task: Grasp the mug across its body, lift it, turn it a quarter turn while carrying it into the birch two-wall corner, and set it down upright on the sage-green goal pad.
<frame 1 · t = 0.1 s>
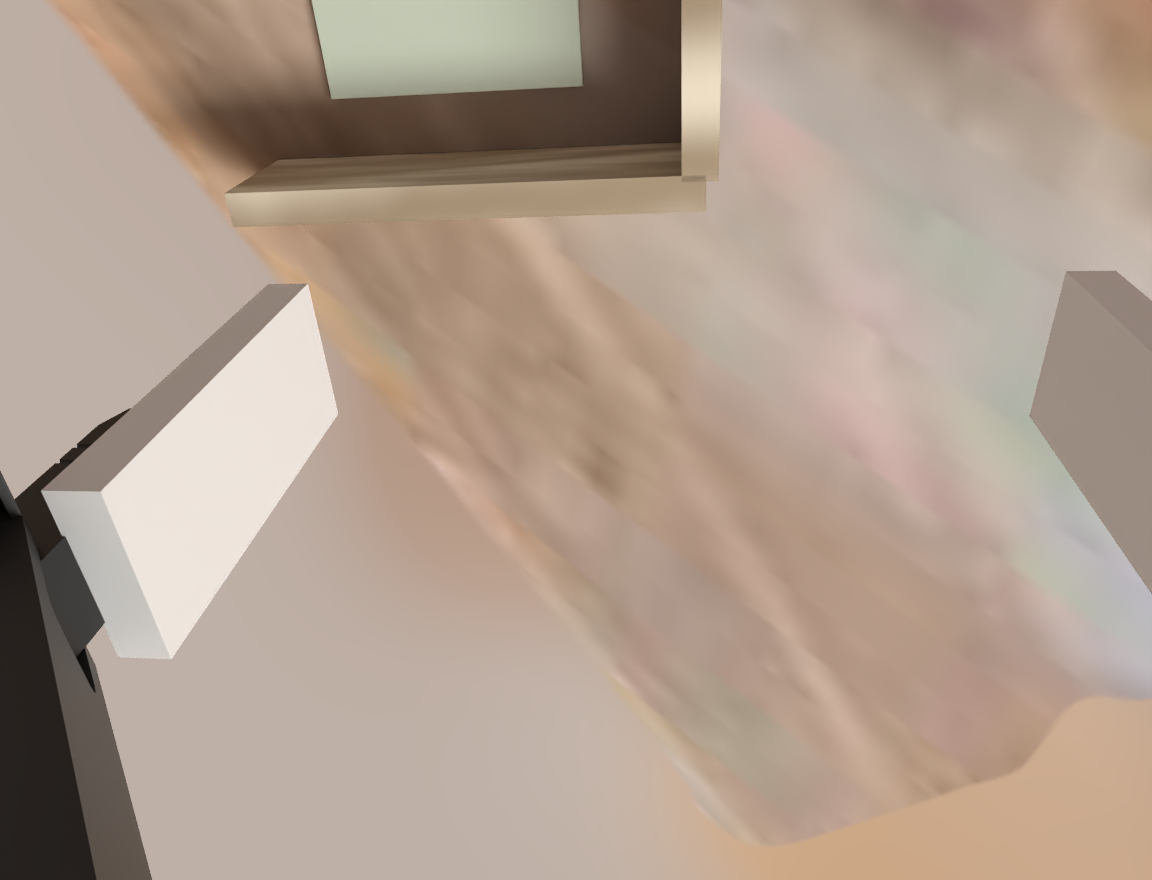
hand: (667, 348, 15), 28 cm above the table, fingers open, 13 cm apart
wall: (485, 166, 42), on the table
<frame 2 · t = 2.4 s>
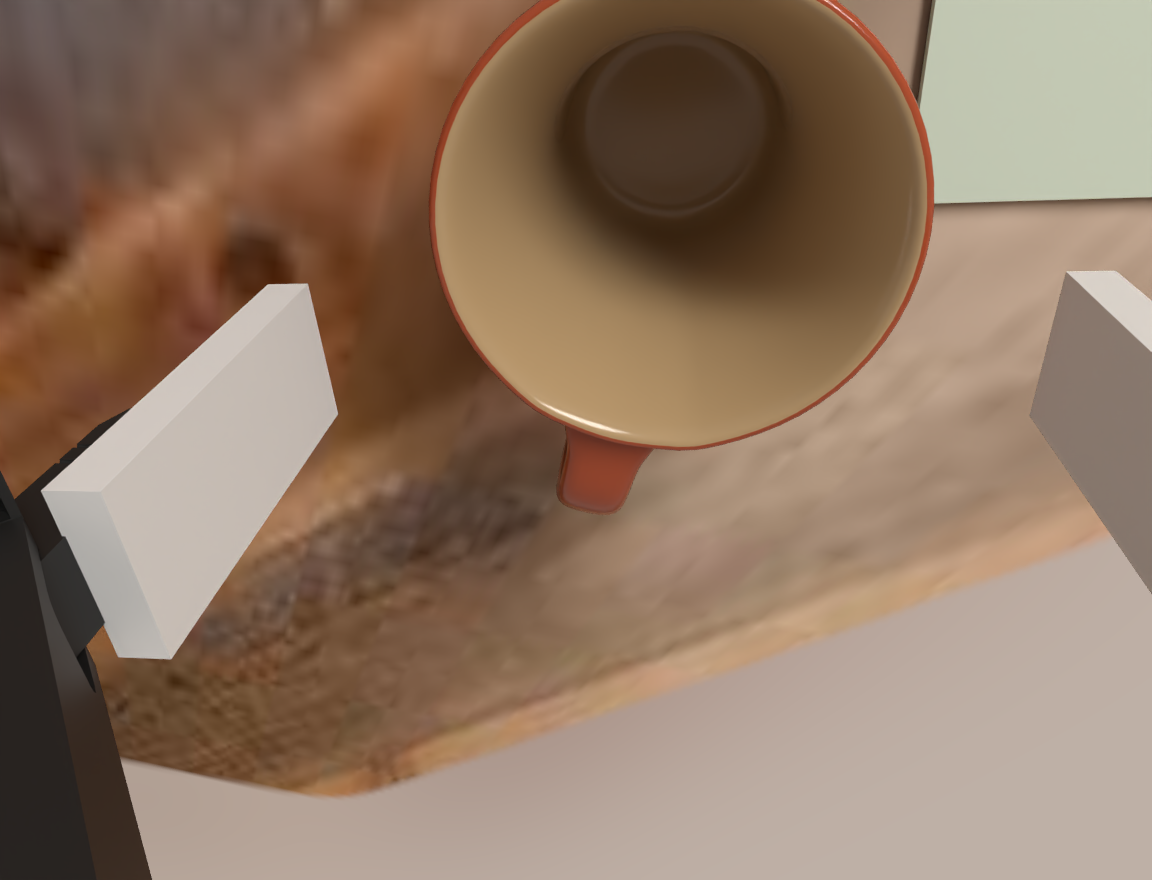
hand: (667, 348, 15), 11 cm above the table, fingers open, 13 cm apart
mug: (654, 171, 25), on the table
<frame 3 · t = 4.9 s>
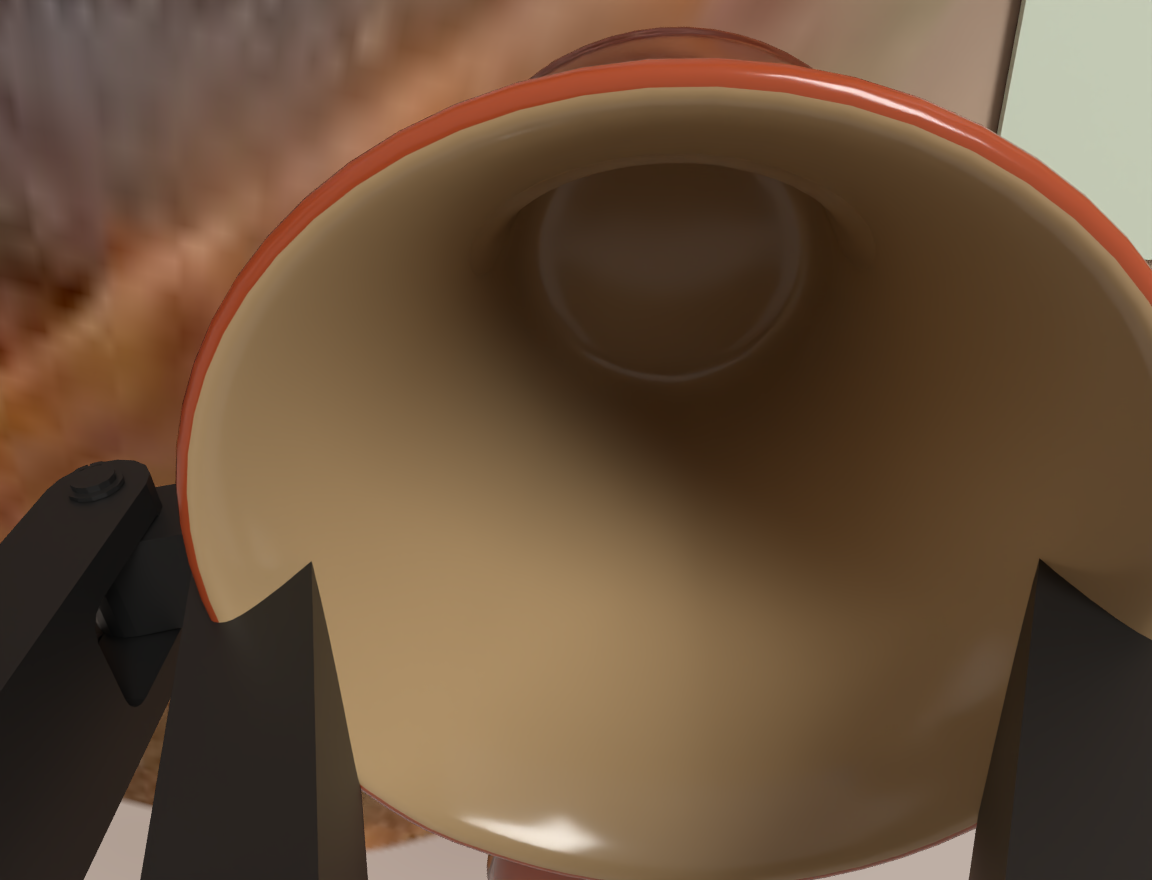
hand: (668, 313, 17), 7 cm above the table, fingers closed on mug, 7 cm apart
mug: (645, 305, 17), point 7 cm above the table, touching gripper
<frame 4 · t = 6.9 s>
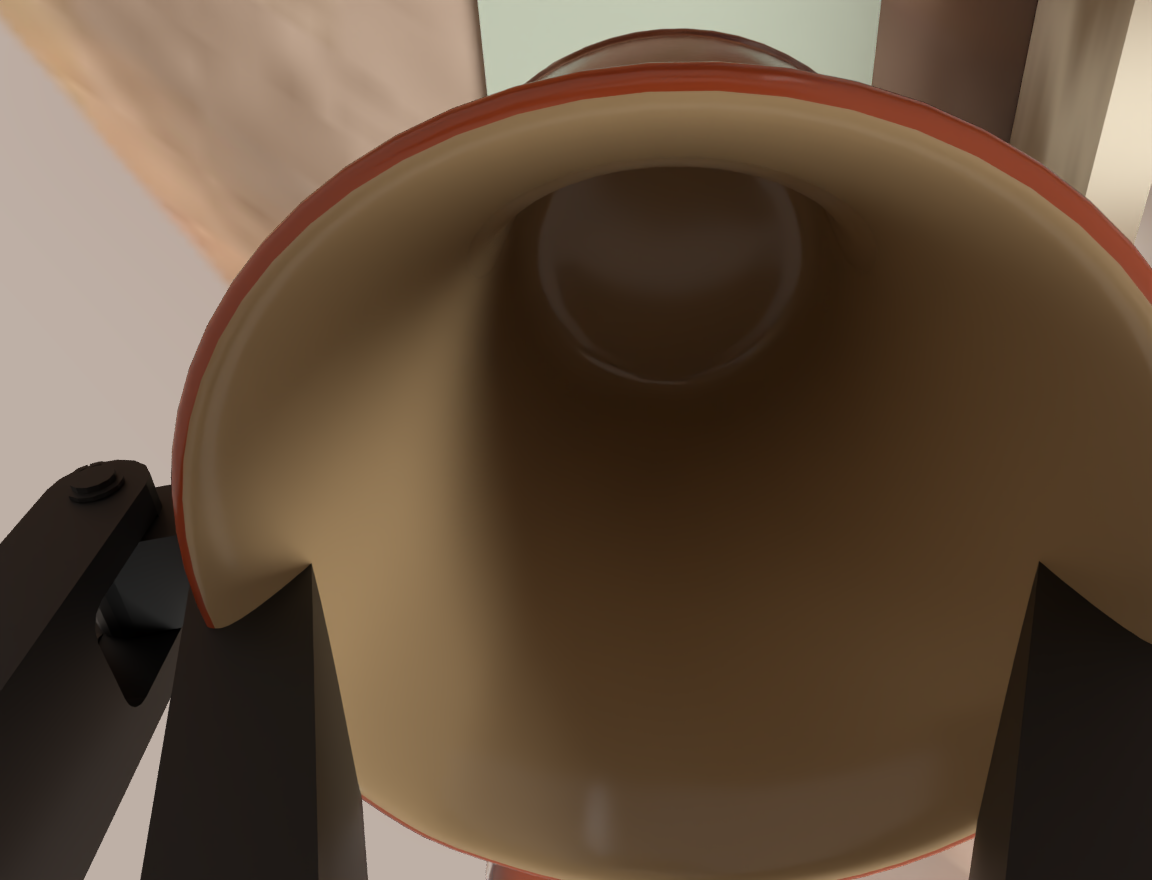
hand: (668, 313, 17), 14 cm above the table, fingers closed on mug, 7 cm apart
mug: (645, 307, 17), point 13 cm above the table, touching gripper
goal pad: (674, 145, 28), on the table
side wall: (1022, 197, 28), on the table
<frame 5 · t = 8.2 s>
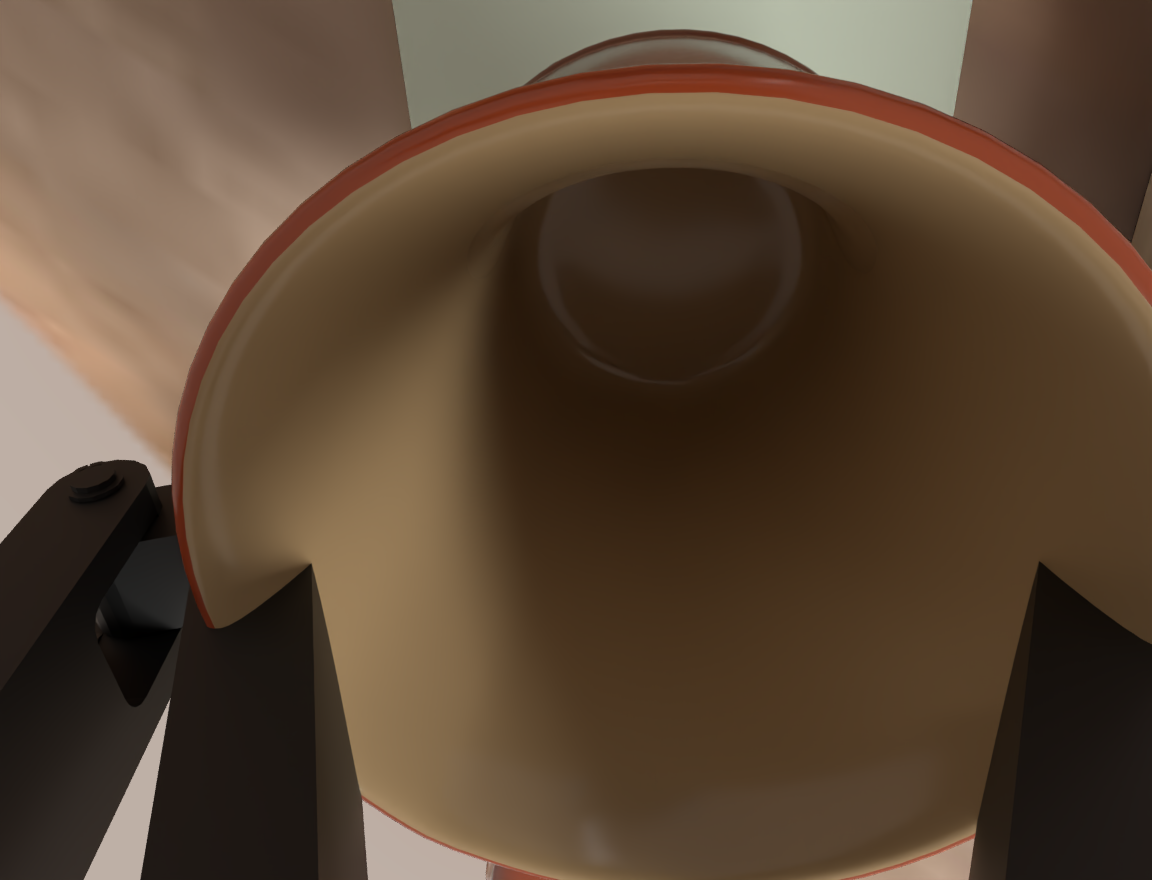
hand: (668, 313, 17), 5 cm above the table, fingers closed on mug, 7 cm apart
mug: (645, 307, 17), point 4 cm above the table, touching gripper
goal pad: (672, 227, 21), on the table
side wall: (1148, 299, 20), on the table
when the fingers open (2 cm above the table, at t = 9.3 s): mug drops 1 cm, resting on goal pad.
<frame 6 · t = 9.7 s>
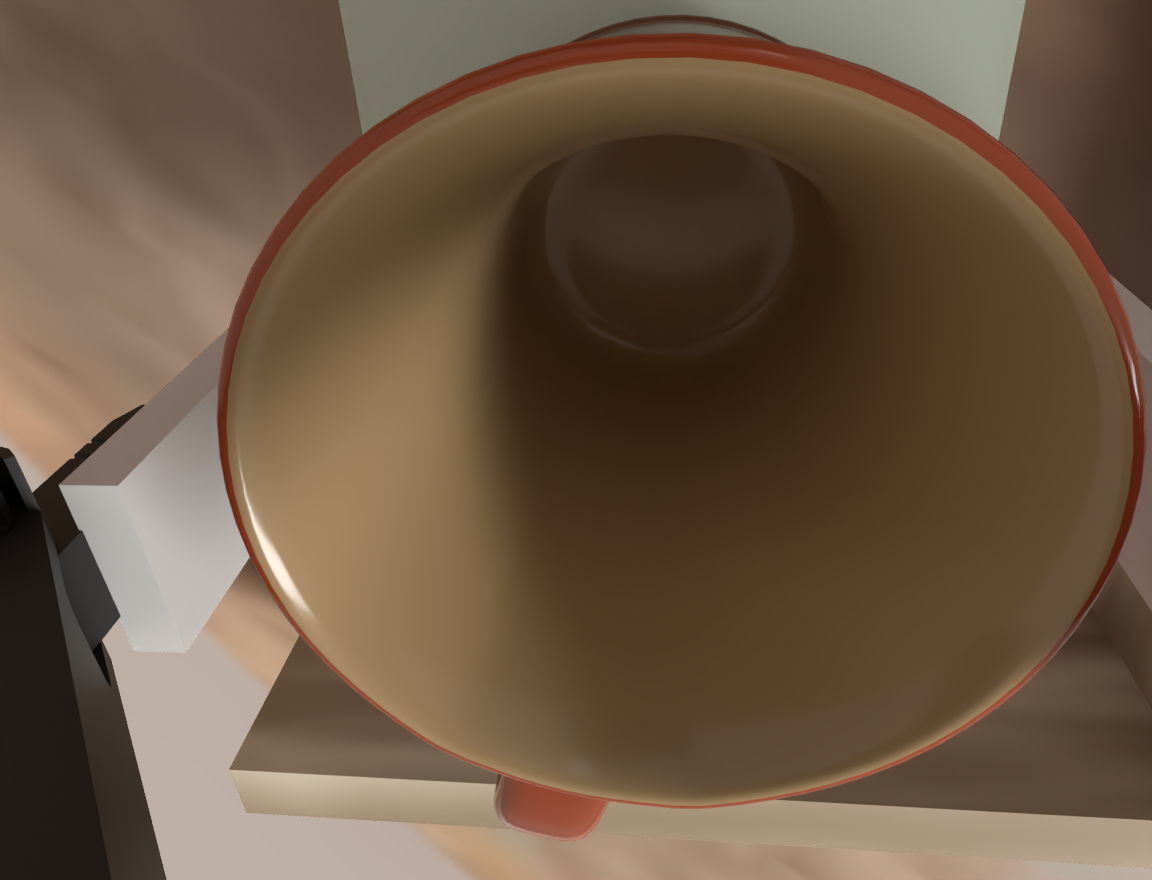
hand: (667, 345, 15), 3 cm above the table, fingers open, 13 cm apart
mug: (647, 283, 18), resting on goal pad
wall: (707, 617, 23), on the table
goal pad: (669, 282, 18), on the table
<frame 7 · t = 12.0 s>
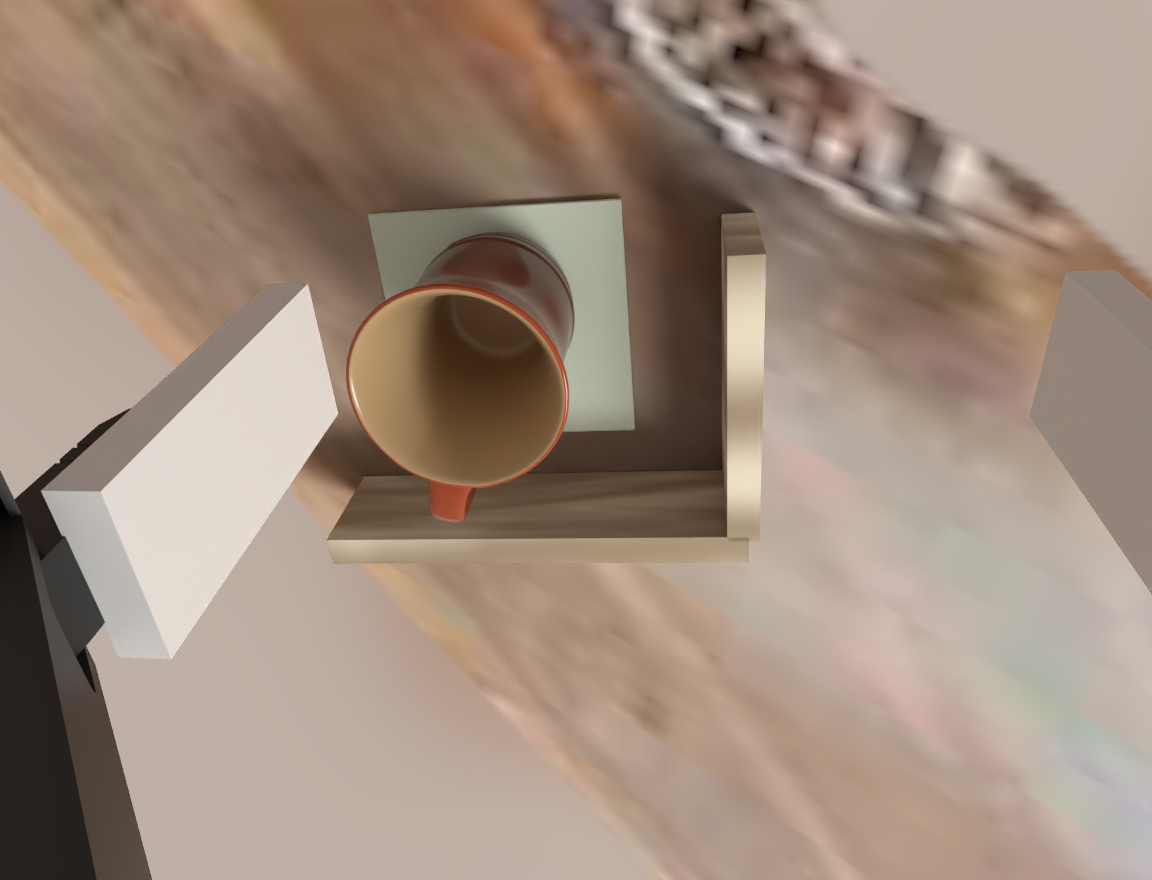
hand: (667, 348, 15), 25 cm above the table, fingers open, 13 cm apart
mug: (499, 326, 43), resting on goal pad
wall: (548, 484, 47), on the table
goal pad: (509, 325, 43), on the table
side wall: (737, 354, 42), on the table
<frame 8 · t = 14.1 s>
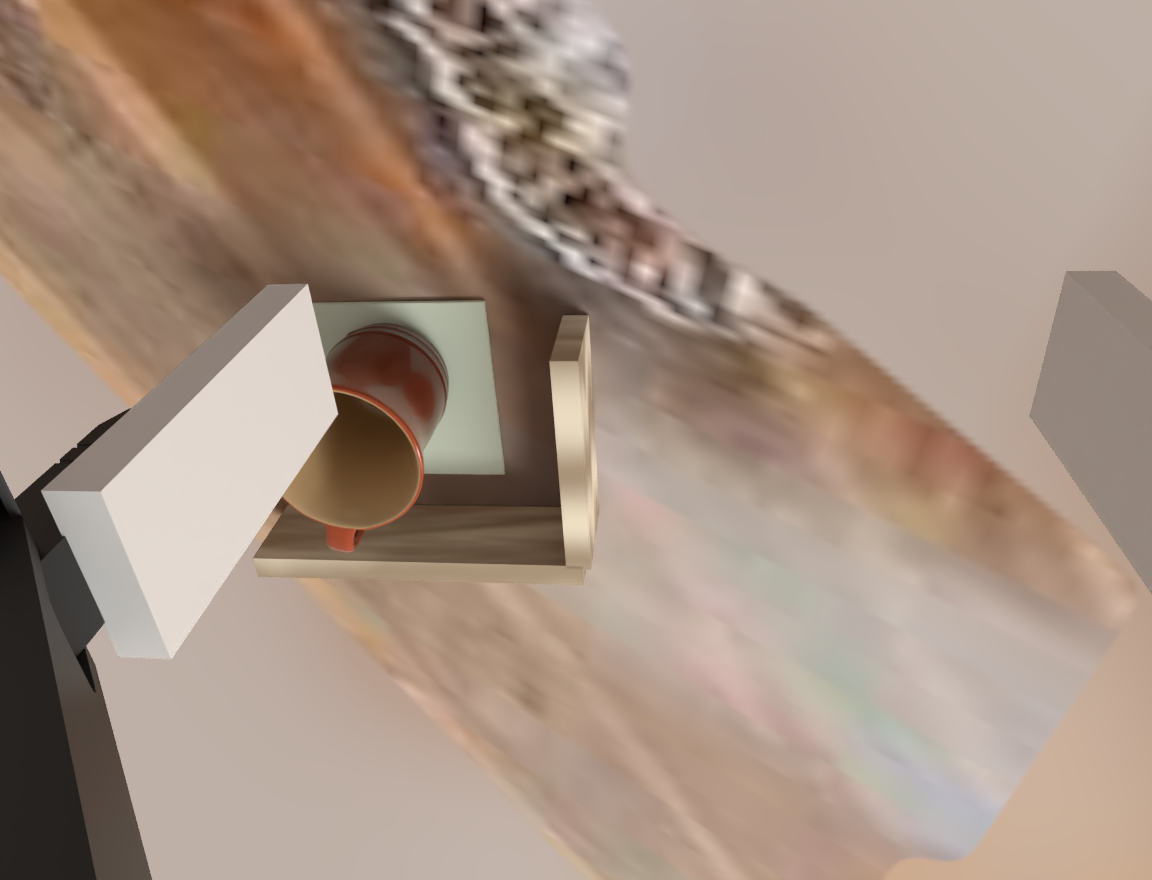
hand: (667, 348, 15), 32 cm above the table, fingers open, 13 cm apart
mug: (394, 391, 54), resting on goal pad
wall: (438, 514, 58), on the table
goal pad: (401, 391, 54), on the table
side wall: (582, 419, 53), on the table
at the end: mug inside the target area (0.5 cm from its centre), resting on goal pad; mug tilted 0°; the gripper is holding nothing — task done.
